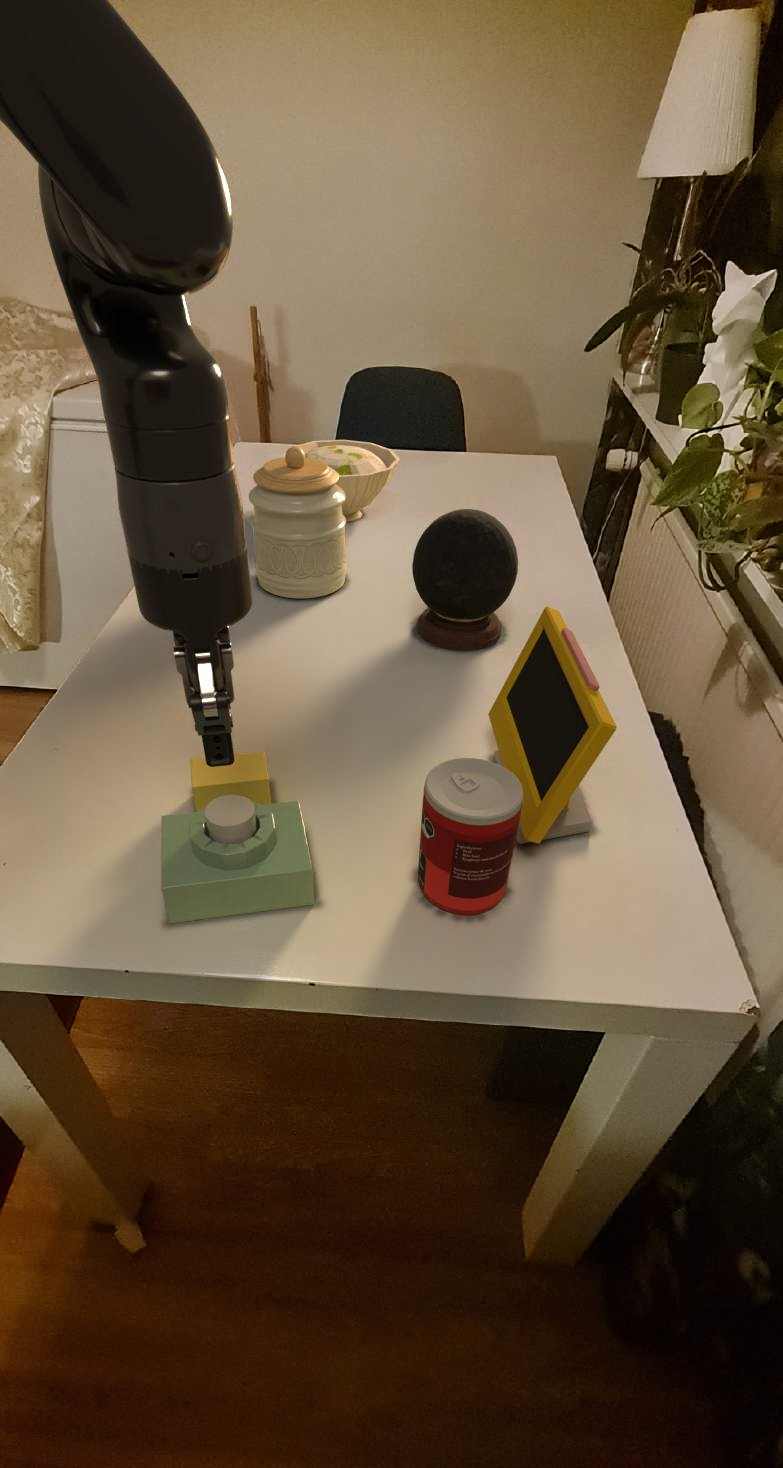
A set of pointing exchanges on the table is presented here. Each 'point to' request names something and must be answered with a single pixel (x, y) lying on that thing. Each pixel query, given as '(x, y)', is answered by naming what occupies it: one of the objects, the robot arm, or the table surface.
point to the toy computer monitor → (550, 730)
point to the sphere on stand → (463, 579)
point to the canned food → (468, 834)
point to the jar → (298, 527)
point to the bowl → (355, 469)
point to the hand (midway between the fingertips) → (220, 760)
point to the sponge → (231, 779)
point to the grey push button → (230, 819)
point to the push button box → (235, 865)
